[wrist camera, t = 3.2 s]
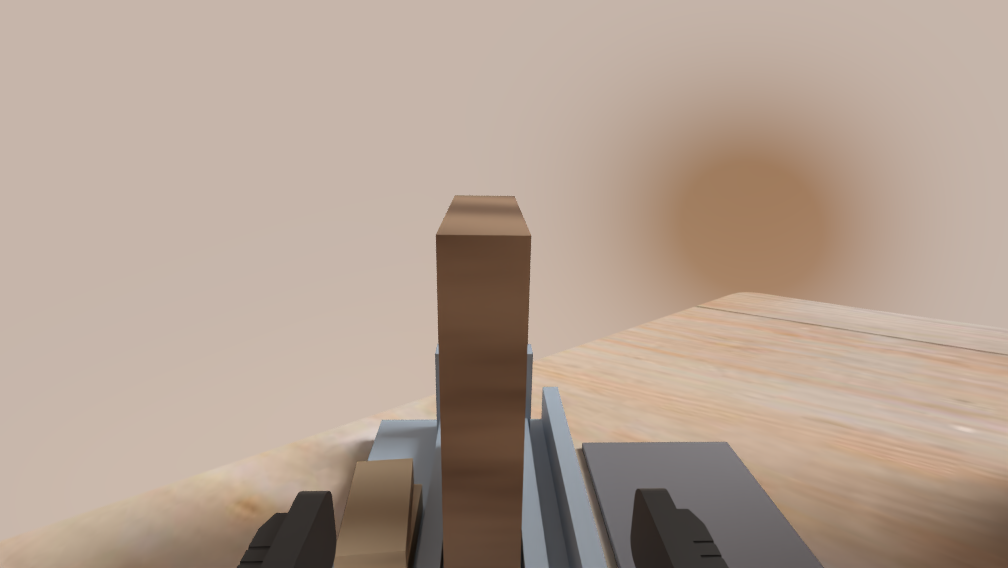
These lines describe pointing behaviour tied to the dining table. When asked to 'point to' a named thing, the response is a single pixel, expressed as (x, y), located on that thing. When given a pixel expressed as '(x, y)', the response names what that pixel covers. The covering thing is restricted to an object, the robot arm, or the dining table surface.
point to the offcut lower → (415, 522)
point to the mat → (696, 500)
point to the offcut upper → (377, 516)
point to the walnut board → (482, 378)
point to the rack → (546, 485)
